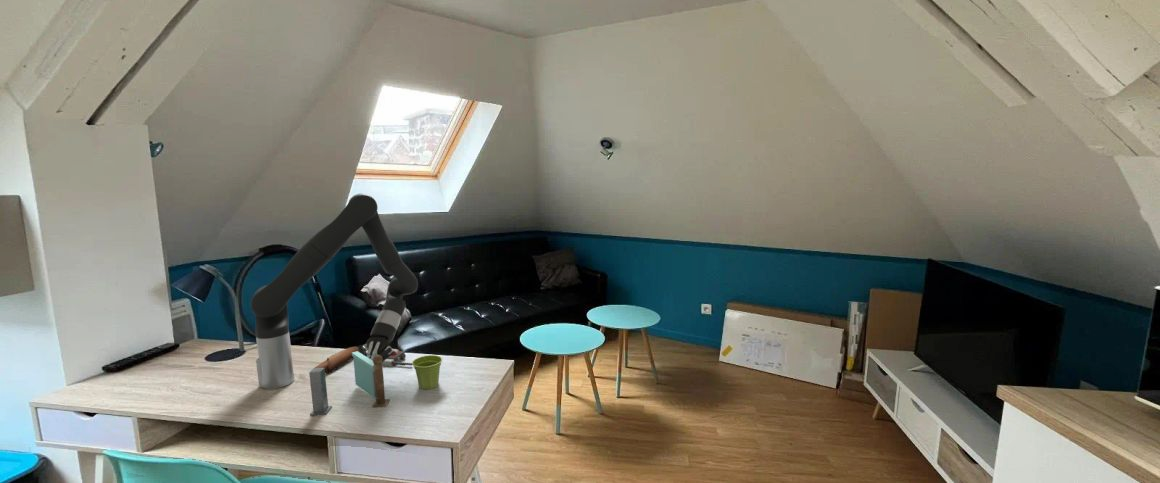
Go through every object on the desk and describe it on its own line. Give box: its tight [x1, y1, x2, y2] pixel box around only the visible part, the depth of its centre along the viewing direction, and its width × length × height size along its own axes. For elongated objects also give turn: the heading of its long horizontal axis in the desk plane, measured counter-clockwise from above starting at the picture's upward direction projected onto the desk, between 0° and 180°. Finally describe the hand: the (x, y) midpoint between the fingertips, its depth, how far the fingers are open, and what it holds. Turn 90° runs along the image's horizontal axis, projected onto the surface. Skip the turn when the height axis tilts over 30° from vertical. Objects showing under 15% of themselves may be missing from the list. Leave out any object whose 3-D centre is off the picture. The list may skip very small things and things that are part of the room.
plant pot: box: [411, 354, 443, 390], centre depth 157 cm, size 9×9×9 cm
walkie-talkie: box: [382, 348, 413, 367], centre depth 177 cm, size 9×4×20 cm
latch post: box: [308, 367, 333, 417], centre depth 140 cm, size 4×4×13 cm
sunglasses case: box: [314, 346, 359, 375], centre depth 176 cm, size 18×7×7 cm
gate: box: [352, 351, 377, 401], centre depth 151 cm, size 16×2×11 cm, turn 46°
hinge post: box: [372, 355, 391, 409], centre depth 144 cm, size 4×4×16 cm
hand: (365, 374), depth 155 cm, fingers closed
